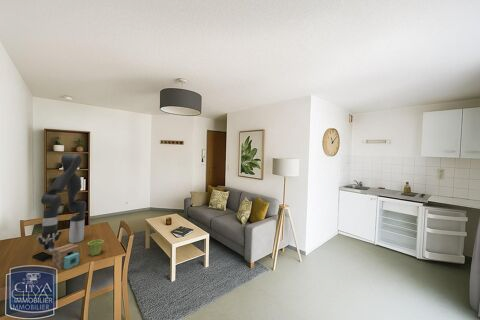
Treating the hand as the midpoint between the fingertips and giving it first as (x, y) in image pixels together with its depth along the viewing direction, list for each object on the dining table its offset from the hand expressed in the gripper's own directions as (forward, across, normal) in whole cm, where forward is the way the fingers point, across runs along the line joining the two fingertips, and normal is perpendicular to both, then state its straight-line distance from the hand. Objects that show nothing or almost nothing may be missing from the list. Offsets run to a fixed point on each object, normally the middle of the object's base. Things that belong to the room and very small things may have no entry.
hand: (48, 248), depth 134 cm
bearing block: (+7, 0, +18) cm, 20 cm away
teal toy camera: (+7, 0, +24) cm, 25 cm away
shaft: (+1, 0, +9) cm, 9 cm away
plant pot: (+7, -17, +21) cm, 28 cm away
